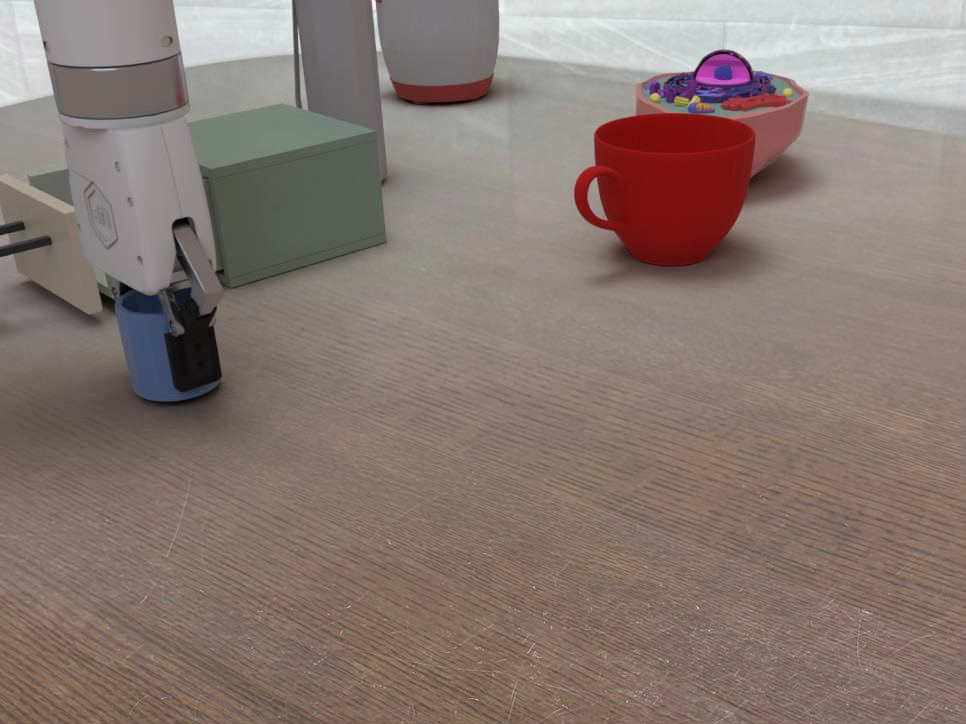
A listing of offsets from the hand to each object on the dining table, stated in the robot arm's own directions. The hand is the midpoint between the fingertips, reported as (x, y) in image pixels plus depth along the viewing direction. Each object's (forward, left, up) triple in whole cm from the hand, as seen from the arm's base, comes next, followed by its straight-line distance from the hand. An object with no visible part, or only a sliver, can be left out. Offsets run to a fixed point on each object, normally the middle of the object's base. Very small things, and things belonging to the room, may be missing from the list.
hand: (174, 367), depth 80 cm
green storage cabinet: (+20, +22, -2) cm, 30 cm away
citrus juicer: (+66, +56, -2) cm, 87 cm away
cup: (0, 0, -1) cm, 1 cm away
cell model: (+63, +7, -2) cm, 64 cm away
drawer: (+5, +22, -1) cm, 22 cm away
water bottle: (+36, +33, -2) cm, 49 cm away
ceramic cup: (+41, -5, -2) cm, 42 cm away
